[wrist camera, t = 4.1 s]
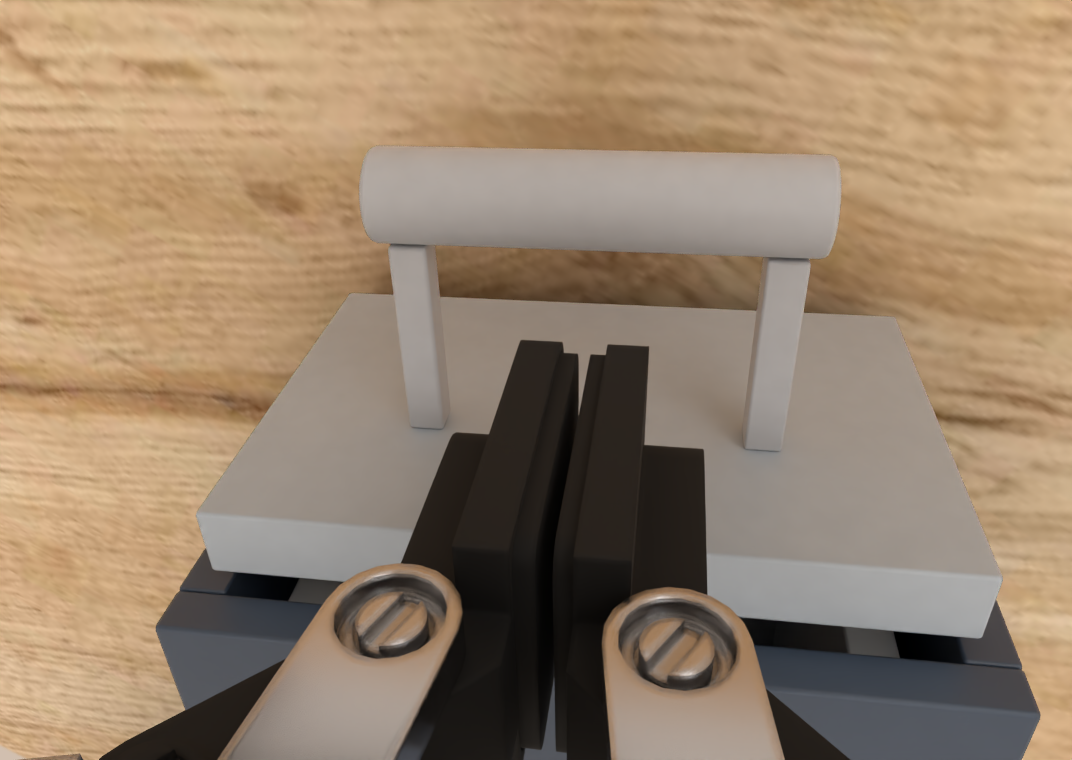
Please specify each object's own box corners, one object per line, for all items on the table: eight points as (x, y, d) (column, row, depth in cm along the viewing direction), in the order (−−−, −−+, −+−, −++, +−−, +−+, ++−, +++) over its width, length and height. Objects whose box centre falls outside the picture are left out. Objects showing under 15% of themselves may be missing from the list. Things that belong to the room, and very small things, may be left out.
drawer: (315, 68, 17) (101, 215, 11) (949, 74, 15) (1125, 249, 9) (412, 694, 26) (330, 957, 20) (802, 735, 25) (840, 1032, 19)
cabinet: (346, 331, 21) (151, 627, 13) (902, 359, 19) (1043, 715, 12) (409, 722, 29) (310, 1047, 21) (808, 765, 27) (855, 1137, 19)
